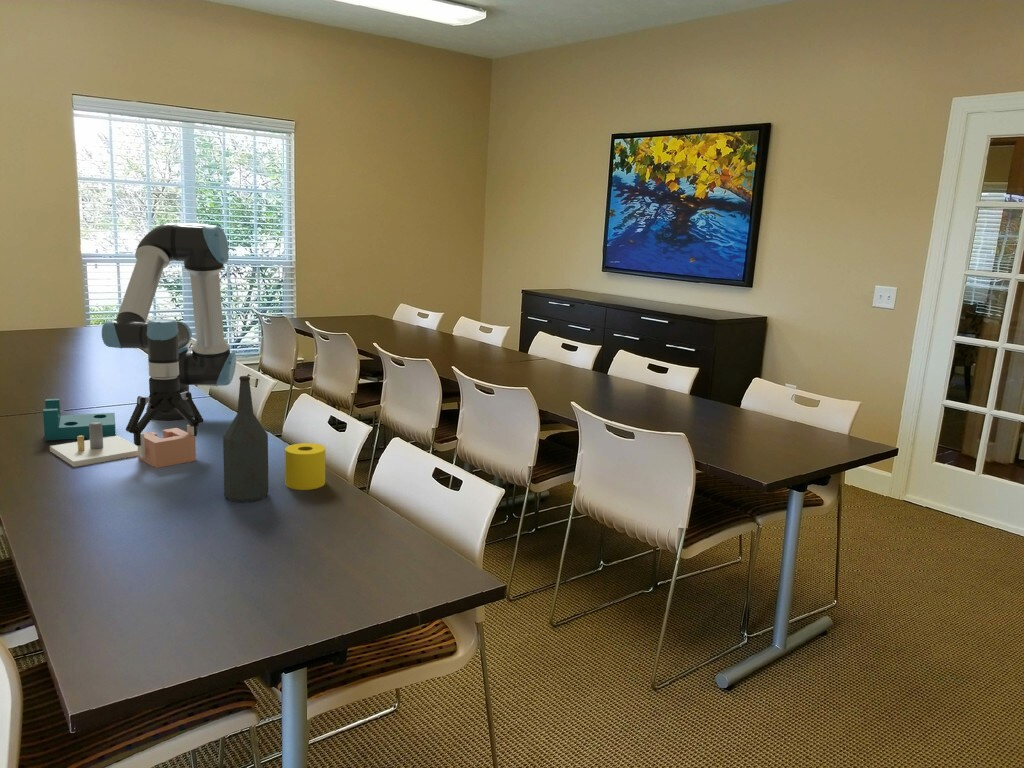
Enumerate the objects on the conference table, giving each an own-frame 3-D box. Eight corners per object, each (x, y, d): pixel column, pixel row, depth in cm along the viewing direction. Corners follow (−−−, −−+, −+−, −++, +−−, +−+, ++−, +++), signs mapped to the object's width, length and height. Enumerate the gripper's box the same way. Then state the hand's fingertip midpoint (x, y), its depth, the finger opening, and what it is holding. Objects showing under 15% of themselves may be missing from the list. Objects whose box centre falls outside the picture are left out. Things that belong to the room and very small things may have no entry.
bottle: (227, 505, 182) (224, 381, 176) (221, 491, 190) (219, 373, 184) (272, 500, 186) (270, 379, 180) (264, 487, 195) (263, 371, 189)
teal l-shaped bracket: (45, 445, 221) (42, 410, 218) (48, 432, 230) (45, 399, 227) (115, 440, 229) (113, 407, 226) (115, 428, 238) (113, 396, 235)
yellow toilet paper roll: (332, 480, 202) (332, 446, 201) (310, 492, 193) (311, 456, 191) (300, 475, 206) (300, 441, 204) (277, 486, 196) (277, 450, 194)
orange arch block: (195, 460, 213) (195, 436, 211) (155, 468, 204) (154, 442, 203) (177, 451, 220) (177, 427, 218) (138, 458, 212) (137, 433, 210)
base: (117, 440, 227) (116, 412, 225) (143, 454, 215) (142, 425, 213) (50, 451, 213) (48, 421, 212) (74, 466, 202) (72, 435, 200)
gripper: (202, 370, 219) (203, 441, 223) (110, 379, 201) (113, 457, 205) (214, 374, 214) (216, 447, 218) (121, 384, 196) (125, 463, 200)
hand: (166, 452), depth 211 cm, fingers open, 13 cm apart
